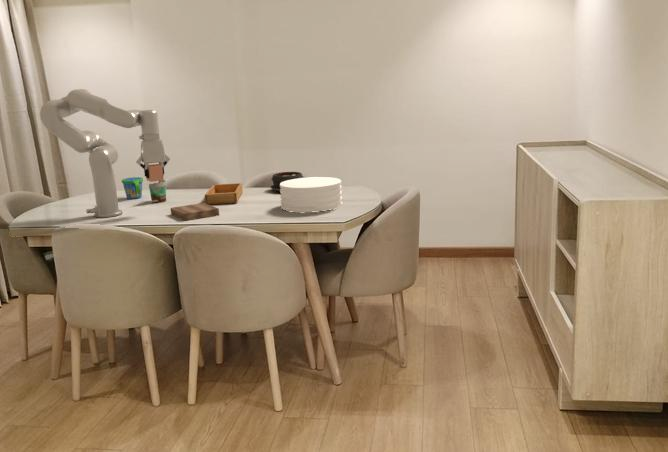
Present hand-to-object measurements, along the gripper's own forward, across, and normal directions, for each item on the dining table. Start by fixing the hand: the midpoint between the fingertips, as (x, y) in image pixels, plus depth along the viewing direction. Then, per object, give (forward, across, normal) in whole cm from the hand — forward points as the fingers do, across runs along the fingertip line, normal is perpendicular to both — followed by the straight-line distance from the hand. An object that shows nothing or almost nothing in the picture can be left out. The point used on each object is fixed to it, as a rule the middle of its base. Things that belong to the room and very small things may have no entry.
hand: (154, 176), depth 318 cm
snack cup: (+17, +2, +48) cm, 51 cm away
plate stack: (+16, +59, -40) cm, 73 cm away
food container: (+17, +10, +27) cm, 33 cm away
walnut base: (+17, +11, -17) cm, 27 cm away
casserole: (+17, +72, +8) cm, 75 cm away
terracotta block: (+2, 0, 0) cm, 2 cm away
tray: (+17, +37, +10) cm, 42 cm away
